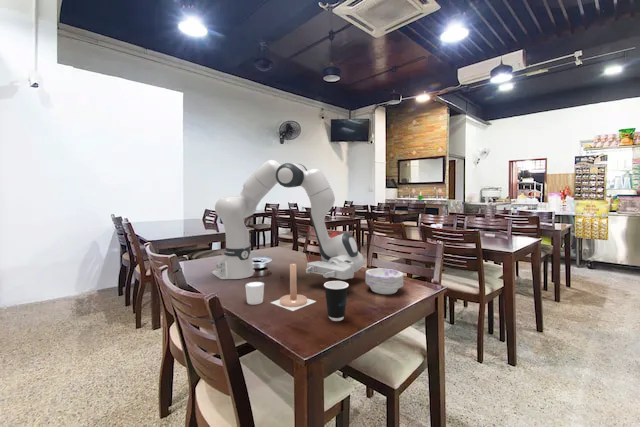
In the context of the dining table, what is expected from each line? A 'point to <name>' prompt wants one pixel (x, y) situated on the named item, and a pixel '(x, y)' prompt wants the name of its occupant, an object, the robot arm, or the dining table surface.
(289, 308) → the mat
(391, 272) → the paper bowls
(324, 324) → the dining table surface
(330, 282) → the dixie cup
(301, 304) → the peg on round base
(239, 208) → the robot arm
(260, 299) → the white round tub
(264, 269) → the dining table surface
